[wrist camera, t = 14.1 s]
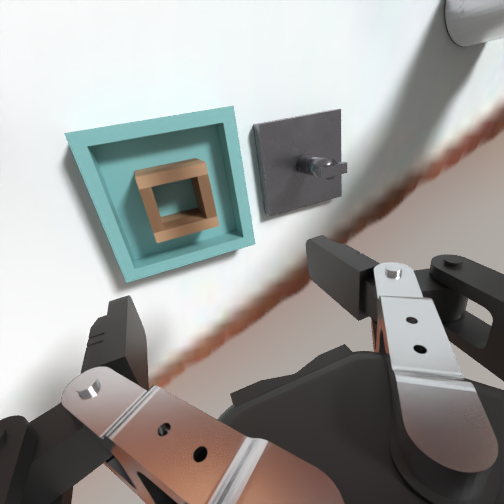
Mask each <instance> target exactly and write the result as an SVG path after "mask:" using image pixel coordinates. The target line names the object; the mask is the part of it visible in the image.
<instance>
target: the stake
mask: <svg viewBox="0 0 504 504" xmlns="http://www.w3.org/2000/svg"><path fill="white" fill-rule="evenodd" d="M253 126H254V134H255V141H256V149H257V156H258V163H259V171H260V178H261V186H262V193H263V200H264V208H265V213H266V214H268V215H269V216H272V215H275V214H279V213H283V212H286V211H290V210H293V209H297V208H301V207H304V206H308V205H311V204H315V203H319V202H322V201H326V200H329V199H333V198H337V197H340V196H341V174H344V173H347V162H341V109H336V110H329V111H323V112H318V113H313V114H307V115H302V116H296V117H291V118H285V119H280V120H275V121H269V122H264V123H258V124H253Z"/></svg>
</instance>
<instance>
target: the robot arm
mask: <svg viewBox="0 0 504 504" xmlns="http://www.w3.org/2000/svg"><path fill="white" fill-rule="evenodd" d="M445 16H446V25H447V29H448V32H449V34H450V36H451V38H452V39H453V41H454V42H455V43H457V44H458V45H460V46H464V47H466V46H472V45H476V44H480V43H484V42H488V41H492V40H496V39H501V38H504V0H446V9H445ZM306 253H307V267H308V273H309V276H310V278H311V279H312V280H313V282H315V283H316V284H317V285H318V286H319V287H320V288H322V289H323V290H324V291H325V292H326V293H327V294H328V295H330V296H331V297H332V298H333V299H334V300H335V301H336V302H338V303H339V304H340V305H341V306H342V307H343V308H344V309H346V310H347V311H348V312H349V313H350V314H351V315H353V316H354V317H355V318H356V319H357V320H358V321H359V320H362V319H364V318H366V317H368V316H370V317H371V318H372V319H371V328H372V338H373V349H374V352H371V351H358V352H352V351H351V350H350V349H349V348H348V347H347V346H346V345H345V344H344V345H342V346H340V347H337V348H335V349H332V350H330V351H328V352H326V353H323V354H321V355H319V356H318V357H316V358H315V359H314V360H312V361H311V362H310V363H308V364H307V365H306V366H305V367H303V368H302V369H301V370H300V371H298V372H297V373H295V374H292V375H288V376H283V377H278V378H272V379H267V380H261V381H259V382H257V383H254V384H252V385H249V386H247V387H245V388H243V389H240V390H238V391H236V392H233V393H231V394H230V395H231V398H232V402H233V405H232V406H231V407H229V408H228V409H227V410H226V411H225V412H224V413H223V414H222V415H221V416H220V417H219V418H218V419H215V418H213V417H212V416H210V415H208V414H206V413H204V412H203V411H201V410H199V409H197V408H196V407H194V406H192V405H190V404H188V403H187V402H185V401H183V400H182V399H180V398H178V397H176V396H174V395H173V394H171V393H169V392H167V391H166V390H164V389H162V388H160V387H158V386H155V385H154V386H152V387H151V388H150V389H149V383H148V363H147V343H146V335H145V331H144V328H143V325H142V322H141V320H140V318H139V315H138V313H137V310H136V308H135V306H134V303H133V301H132V299H131V297H130V296H129V295H128V296H125V297H122V298H119V299H116V300H112V301H110V302H109V306H108V312H107V315H106V316H103V317H100V318H98V319H97V320H96V322H95V323H94V324H93V326H92V327H91V329H90V334H89V339H88V343H87V348H86V352H85V356H84V361H83V365H82V370H81V374H80V375H79V376H77V377H76V378H75V379H74V380H72V381H71V382H70V384H69V385H68V386H67V387H66V389H65V390H64V392H63V394H62V398H61V403H60V404H58V405H57V406H55V407H54V408H52V409H51V410H49V411H47V412H46V413H44V414H43V415H41V416H39V417H38V418H36V419H34V420H33V421H31V422H28V421H27V420H26V419H25V418H24V417H22V416H11V417H7V418H4V419H2V420H0V504H71V500H72V492H73V486H74V485H75V484H76V483H78V482H79V481H80V480H81V479H83V478H84V477H86V476H87V475H88V474H89V473H91V472H92V471H93V470H95V469H96V468H97V467H98V466H100V465H101V464H103V463H104V464H105V465H106V466H107V467H108V468H109V469H110V470H111V471H112V472H113V473H114V474H115V475H116V476H118V477H119V478H120V479H121V480H122V481H123V482H124V483H125V484H126V485H127V486H128V487H129V488H130V489H132V490H133V491H134V492H135V493H136V494H137V495H138V496H139V497H140V498H141V499H142V500H143V501H144V502H145V503H146V504H504V390H501V389H498V388H495V387H491V386H488V385H485V384H482V383H479V382H475V381H472V380H469V379H466V378H464V376H463V374H462V372H461V369H460V367H459V364H458V362H457V359H456V357H455V355H454V352H453V350H452V347H451V345H450V342H452V343H453V344H454V345H456V346H457V347H458V348H460V349H461V350H462V351H464V352H465V353H467V354H468V355H469V356H470V357H472V358H473V359H474V360H476V361H477V362H478V363H480V364H481V365H483V366H484V367H485V368H487V369H488V370H489V371H491V372H492V373H493V374H495V375H496V376H497V377H499V378H500V379H502V380H503V381H504V274H502V273H499V272H497V271H495V270H492V269H490V268H488V267H485V266H483V265H481V264H479V263H476V262H474V261H472V260H469V259H467V258H465V257H461V256H457V255H439V256H436V257H434V258H432V260H431V265H430V269H424V270H416V271H413V269H412V268H410V267H409V266H407V265H405V264H401V263H395V262H386V263H381V264H380V263H378V262H376V261H374V260H372V259H371V258H369V257H367V256H365V255H364V254H360V252H358V251H357V250H354V249H353V248H351V247H349V246H348V245H346V244H342V243H338V242H334V241H332V240H330V239H328V238H327V237H325V236H319V237H315V238H312V239H309V240H307V242H306ZM468 298H469V299H471V300H472V301H474V302H476V303H478V304H480V305H481V306H483V307H485V308H486V309H487V310H488V311H489V312H490V313H491V315H492V317H493V323H492V326H490V325H488V324H487V323H485V322H484V321H482V320H480V319H479V318H477V317H475V316H474V315H472V314H470V313H468V312H467V311H465V310H466V306H467V301H468ZM449 341H450V342H449Z"/></svg>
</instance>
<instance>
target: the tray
mask: <svg viewBox="0 0 504 504" xmlns="http://www.w3.org/2000/svg"><path fill="white" fill-rule="evenodd" d="M64 134H65V136H66V138H67V141H68V143H69V146H70V148H71V150H72V153H73V155H74V158H75V160H76V163H77V165H78V167H79V170H80V172H81V175H82V177H83V180H84V182H85V184H86V187H87V189H88V192H89V194H90V196H91V199H92V201H93V204H94V206H95V209H96V211H97V213H98V216H99V218H100V221H101V223H102V225H103V228H104V230H105V233H106V235H107V238H108V240H109V242H110V245H111V247H112V250H113V252H114V254H115V257H116V259H117V262H118V264H119V267H120V269H121V271H122V274H123V276H124V279H125V281H126V283H128V282H132V281H135V280H138V279H142V278H145V277H148V276H152V275H155V274H158V273H161V272H165V271H168V270H171V269H175V268H178V267H181V266H185V265H188V264H191V263H195V262H198V261H201V260H205V259H208V258H211V257H214V256H218V255H221V254H224V253H228V252H231V251H234V250H238V249H241V248H244V247H248V246H251V245H254V244H255V239H254V232H253V226H252V220H251V214H250V207H249V201H248V195H247V189H246V182H245V176H244V170H243V163H242V157H241V151H240V145H239V138H238V132H237V126H236V119H235V113H234V107H233V106H229V107H223V108H217V109H211V110H205V111H199V112H192V113H186V114H180V115H174V116H168V117H162V118H156V119H149V120H143V121H137V122H131V123H125V124H119V125H113V126H106V127H100V128H94V129H88V130H82V131H76V132H70V133H64ZM193 158H197V159H200V160H202V161H204V162H206V167H207V171H208V176H209V180H210V185H211V189H212V194H213V198H214V203H215V208H216V212H217V217H218V221H219V226H217V227H214V228H210V229H207V230H203V231H199V232H196V233H192V234H189V235H185V236H181V237H178V238H174V239H171V240H167V241H163V242H160V243H157V242H156V239H155V236H154V233H153V230H152V227H151V224H150V221H149V218H148V215H147V212H146V209H145V206H144V203H143V200H142V197H141V194H140V191H139V188H138V185H137V182H136V179H135V170H140V169H145V168H150V167H154V166H159V165H164V164H169V163H173V162H178V161H183V160H188V159H193ZM152 191H153V194H154V197H155V200H156V203H157V207H158V210H159V213H160V216H161V217H163V216H166V215H170V214H174V213H178V212H182V211H186V210H190V209H194V208H198V205H197V201H196V197H195V193H194V189H193V185H192V181H191V178H188V179H184V180H179V181H175V182H171V183H166V184H162V185H157V186H153V187H152Z"/></svg>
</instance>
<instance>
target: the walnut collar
mask: <svg viewBox="0 0 504 504" xmlns="http://www.w3.org/2000/svg"><path fill="white" fill-rule="evenodd" d="M188 178H191V181H192V185H193V189H194V193H195V197H196V201H197V205H198V208H194V209H190V210H186V211H182V212H178V213H174V214H170V215H166V216H163V217H161V216H160V213H159V210H158V207H157V203H156V200H155V197H154V194H153V191H152V187H153V186H157V185H162V184H166V183H171V182H175V181H179V180H184V179H188ZM135 179H136V182H137V185H138V188H139V191H140V194H141V197H142V200H143V203H144V206H145V209H146V212H147V215H148V218H149V221H150V224H151V227H152V230H153V233H154V236H155V239H156V242H157V243H160V242H163V241H167V240H171V239H174V238H178V237H181V236H185V235H189V234H192V233H196V232H199V231H203V230H207V229H210V228H214V227H217V226H219V221H218V217H217V212H216V208H215V203H214V198H213V194H212V189H211V185H210V180H209V176H208V171H207V167H206V162H204V161H202V160H200V159H197V158H193V159H188V160H183V161H178V162H173V163H169V164H164V165H159V166H154V167H150V168H145V169H140V170H135Z"/></svg>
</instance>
